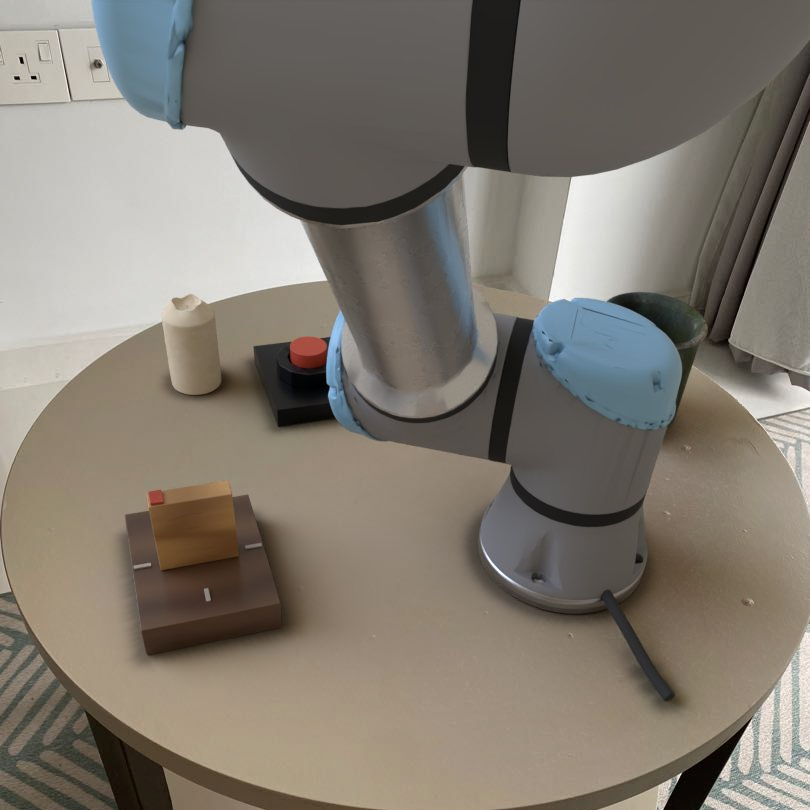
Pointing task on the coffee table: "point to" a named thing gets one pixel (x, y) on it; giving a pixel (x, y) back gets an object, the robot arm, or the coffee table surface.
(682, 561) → the coffee table surface
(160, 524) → the handle
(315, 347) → the button
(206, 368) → the candle
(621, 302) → the mug
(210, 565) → the panel
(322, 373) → the button block
